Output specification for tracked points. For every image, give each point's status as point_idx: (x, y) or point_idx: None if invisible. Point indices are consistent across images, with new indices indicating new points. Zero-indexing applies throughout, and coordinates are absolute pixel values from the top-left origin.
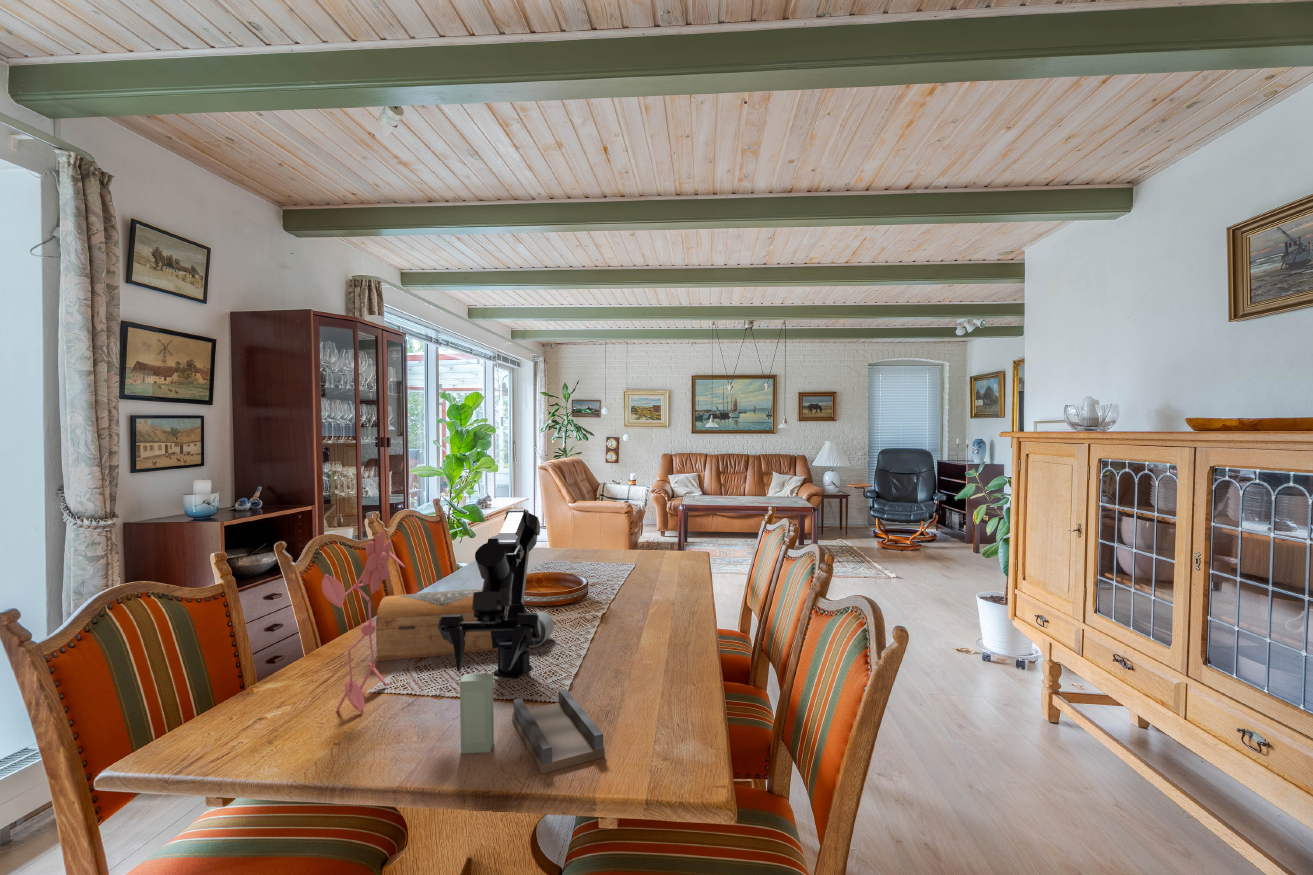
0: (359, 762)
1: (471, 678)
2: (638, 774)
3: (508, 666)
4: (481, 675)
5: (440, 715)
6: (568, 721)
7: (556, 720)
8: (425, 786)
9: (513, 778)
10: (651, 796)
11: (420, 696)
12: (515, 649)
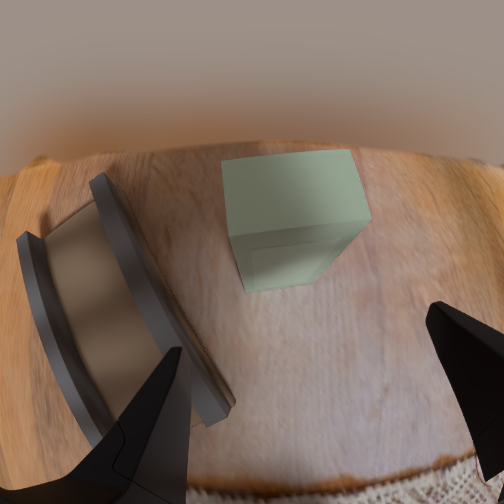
0: (455, 208)
1: (315, 177)
2: (14, 213)
3: (177, 347)
4: (281, 209)
5: (418, 397)
6: (87, 355)
7: (111, 361)
8: (314, 146)
9: (169, 175)
10: (15, 175)
11: (473, 449)
12: (124, 419)
